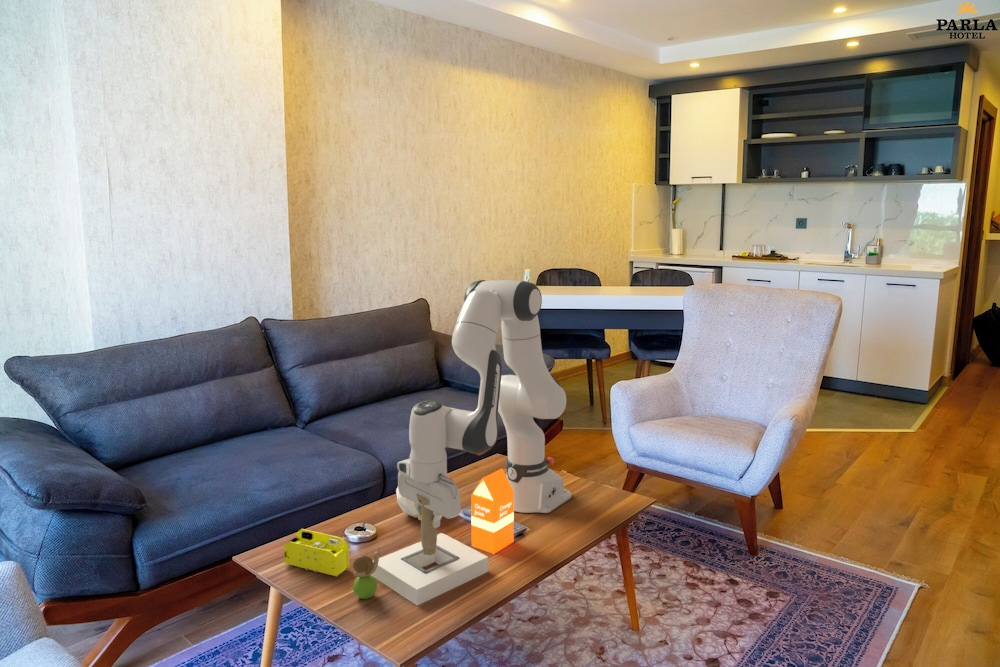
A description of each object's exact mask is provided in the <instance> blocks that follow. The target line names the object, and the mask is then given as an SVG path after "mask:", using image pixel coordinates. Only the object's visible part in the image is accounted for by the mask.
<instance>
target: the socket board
mask: <svg viewBox="0 0 1000 667" xmlns="http://www.w3.org/2000/svg"><path fill="white" fill-rule="evenodd" d="M435 549H436V552H435V554H432V555H424V554H423V547H422V543H421V541H418V542H415V543H413V544H411V545H408V546H406V547H403V548H400V549H398V550H396V551H393V552H391V553H389V554H386V555H384V556H382V557H381V556H380V557H379V562H378V566H377V569H376V570H375V572H374V573H372V574H371V576H373V577H374V578H375V580H376V581H378V582H380V583H382V584H383V585H384V586H386V587H388V588H389V589H391V590H393V591H394V592H395V593H397V594H398V595H399V596H402V597H403V598H404V599H406V600H407V601H409V602H411V603H412V604H414V605H415V606H419V605H422V604H424V603H426V602H429V601H430V600H432V599H434V598H436V597H438V596H441V595H443V594H444V593H446V592H448V591H451V590H453V589H455V588H457V587H459V586H462V585H464V584H465V583H468V582H470V581H472V580H474V579H476V578H478V577H481V576H482V575H484V574H487V573H489V556H487V555H486V554H484V553H482V552H480V551H478V550H476V549H474V548H472V547H470V546H468V545H466V544H465V543H463V542H460V541H459V540H457V539H455V538H452V537H451V536H450V535H447V534H445V533H443V532H440V533H437V543H436V547H435ZM372 561H373V562H374V560H372ZM433 563H435V564H437V565H435V566H432V567H430V568H428V569H425V568H424V567H427V566H429V565H431V564H433Z"/></svg>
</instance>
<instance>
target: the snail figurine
mask: <svg viewBox="0 0 1000 667" xmlns="http://www.w3.org/2000/svg"><path fill="white" fill-rule="evenodd" d="M377 550H378V551H375V552H374V554H373V557H374V559H372V557H371V556H368V555H359V556H357V557H356V558H355V559H354V561H353V563H352V568H353V569H354V571H355V572H353V575H354V576H356V578H355V580H354V581H353V586H352V588H353V593H354V594H355V596H356V597H358V598H360V599H362V600H368V599H369V598H371V597H373V596H374V595H375V594H376V592H377V589H378V582H377V579H376V578H374V577H373V576H372V573H374V572H375V570H376V569H377V566H378V562H379V558H381V552H380V551H381V548H380V546H377ZM373 561H374V562H373Z"/></svg>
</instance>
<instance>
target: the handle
mask: <svg viewBox="0 0 1000 667" xmlns="http://www.w3.org/2000/svg"><path fill="white" fill-rule="evenodd" d="M416 496H417V500H418V502H419V503H420V504H422V514H421V520H420V539H421V540H420V542H421V543H422V547H423V554H424V555H432V554H435V552H436V549H435V547H436V543H437V535H438V527H437V528H434V527H433V526H431V520H432V519H434V516H435V515H433V511H431V510H429V509H427V508H425V507H424V505H430V500H428V499H426V498H424V497H422V496H420V495H418V494H416Z"/></svg>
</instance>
